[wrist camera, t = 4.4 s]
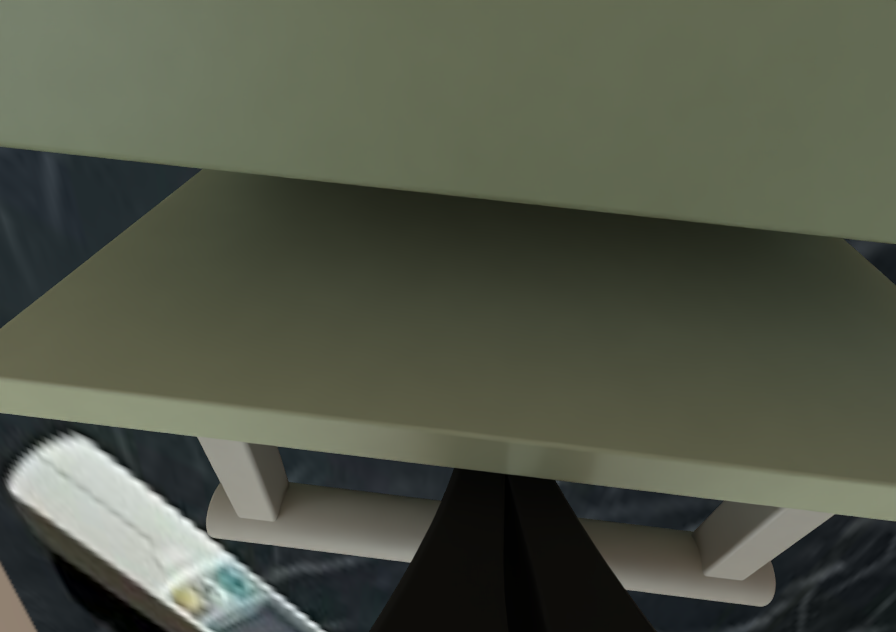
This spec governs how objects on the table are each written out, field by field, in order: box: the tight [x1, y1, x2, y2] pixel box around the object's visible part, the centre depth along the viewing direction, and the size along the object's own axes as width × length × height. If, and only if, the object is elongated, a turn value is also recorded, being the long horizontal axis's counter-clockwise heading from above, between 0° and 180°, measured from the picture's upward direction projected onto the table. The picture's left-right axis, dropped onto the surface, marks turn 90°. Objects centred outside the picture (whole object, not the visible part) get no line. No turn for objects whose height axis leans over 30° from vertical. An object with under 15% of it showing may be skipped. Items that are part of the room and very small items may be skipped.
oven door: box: [0, 169, 896, 606], centre depth 10 cm, size 5×15×9 cm, turn 85°
